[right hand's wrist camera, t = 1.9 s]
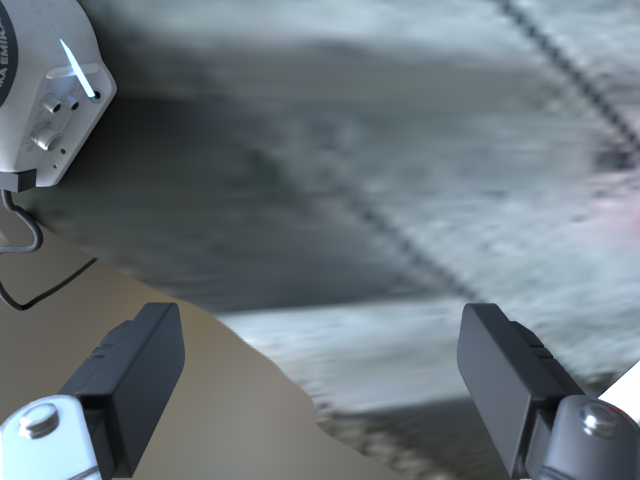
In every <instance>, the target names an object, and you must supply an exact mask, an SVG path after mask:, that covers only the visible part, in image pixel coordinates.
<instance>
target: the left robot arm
mask: <svg viewBox="0 0 640 480" xmlns="http://www.w3.org/2000/svg"><path fill="white" fill-rule="evenodd" d="M97 91H98V92H99V93H100V95H101V97H100V99H99V98H97V96H96V92H97ZM116 91H117V86H116V83H115V80H114V78H113V77H112V75H111V73H110V72H109V70H108V68H107V67H106V65H105V64H104V62H103V61H102V58H101V55H100V52H99V47H98V43H97V39H96V36H95V33H94V30H93V28H92V25H91V23H90V21H89V19H88V17H87V15H86V14H85V12H84V10H83V9H82V7H81V6H80V4H79V3H78V2H77V1H76V0H0V188H1V190H2V197H3V201H4V204H5V206H6V208H7V209H8V210H10V211H12V212H16V213H17V214H18V215H19V216H20V217H21V218H22V219H23V220H24V221H25V222H26V223H27V224H28V225H29V226H30V228H31V229H32V231H33V232H34V235H35V242H34V244H33V245H31V246H26V247H21V246H3V247H0V254H2V253H8V252H15V253H30V252H34V251H36V250H38V249H39V248H40V247H41V245H42V243H43V234H42V231H41V229H40V228H39V226H38V225H37V223H36V222H35V221H34V220H33V219H32V218H31V217H30V216H29V214H28V213H27V212H26V211H25V210H24V209H23V208H22V207H20V206H18V205H14V204H13V202H12V198H11V191H13V192H16V193H19V192H22V191H25V190H27V189H30V188H33V187H35V186H39V187H44V186H53V185H56V184H57V183H58V182H59V181H60V180H61V178H62V177H63V175H64V174H65V172H66V171H67V169H68V168H69V166H70V164H71V163H72V161H73V160H74V158H75V157H76V155H77V153H78V152H79V150H80V149H81V147H82V146H83V144H84V143H85V141H86V139H87V138H88V136H89V135H90V133H91V132H92V130H93V129H94V127H95V125H96V124H97V122H98V121H99V119H100V118H101V116H102V114H103V113H104V111H105V110H106V108H107V107H108V105H109V104H110V102H111V100H112V99H113V97H114V96H115V94H116ZM97 260H98V259H97V258H95V257H94V258H92V259H91V260H90V261H89V262H87V263H86V264H85V265H84V266H82V267H81V268H80V269H79V270H77V271H76V272H75V273H73V274H72V275H71V276H69V277H68V278H67V279H65V280H64V281H62V282H61V283H59V284H58V285H56V286H55V287H53V288H51V289H50V290H48V291H46V292H44V293H42V294H41V295H39V296H37V297H35V298H34V299H32V300H31V301H30V302H28V303H26V304H24V305H20V304H18V303H16V302H15V301H14V300H13V299H12V298H11V297H10V296H9V295H8V293H7V292H6V291H5V289H4V287H3V286H2V284H1V282H0V297H1V298H2V299H3V300H4V301H5V302H6V303H7V304H8V305H9V306H10V307H12V308H13V309H15V310H18V311H25V310H28V309H29V308H31V307H32V306H34V305H35V304H36V303H38V302H39V301H41V300H43V299H45V298H46V297H48V296H50V295H52V294H53V293H55V292H56V291H58V290H59V289H61V288H63V287H64V286H65V285H67V284H68V283H69V282H71V281H72V280H74V279H75V278H76V277H77V276H79V275H80V274H81V273H82V272H84V271H85V270H86V269H87V268H89V267H90V266H91V265H92V264H93V263H95V262H96V261H97Z"/></svg>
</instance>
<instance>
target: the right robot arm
mask: <svg viewBox="0 0 640 480" xmlns="http://www.w3.org/2000/svg"><path fill="white" fill-rule="evenodd" d="M184 361H185V347H184V340H183V334H182V327H181V320H180V313H179V308H178V306H177V304H176V303H147V304H145V305H144V307H143V308H142V309H141V311H140V312H139V313H138V314H137V316H136V317H135V318H134V320H133V321H125V322H124V323H122V324H120V325H119V326H117V327H116V328H114V329H113V330H111V331H110V332H109V333H108V334H107V335H106V336H105V338H104V339H103V340H102V341H101V342H100V344H99V347H96V348H95V349H94V351H93V352H92V353H91V354H90V357H89V358H87V359H86V360H85V361H84V363H83V364H82V365H81V366H80V367H79V369H78V370H77V371H76V372H75V373H74V375H73V376H72V377H71V378H70V379H69V380H68V382H67V383H66V384H65V385H64V386H63V388H62V389H61V390H60V391H59V392H58V394H57V395H54V396H49V397H45V398H42V399H38V400H36V401H34V402H31V403H29V404H27V405H25V406H23V407H22V408H20V409H19V410H17V411H16V412H14V413H13V414H12V415H11V416H10V417H9V418H7V419H6V421H5V422H4V423H3V424H2V425H1V427H0V480H111V479H112V478H132V476H133V474H134V472H135V470H136V468H137V466H138V464H139V461H140V459H141V457H142V455H143V453H144V451H145V449H146V447H147V445H148V442H149V440H150V438H151V436H152V434H153V432H154V430H155V428H156V426H157V424H158V421H159V419H160V417H161V415H162V413H163V411H164V409H165V407H166V405H167V402H168V400H169V398H170V396H171V394H172V392H173V390H174V388H175V386H176V383H177V381H178V379H179V377H180V375H181V373H182V370H183V367H184ZM457 361H458V367H459V371H460V373H461V376H462V378H463V380H464V382H465V384H466V386H467V388H468V390H469V392H470V394H471V396H472V399H473V401H474V403H475V405H476V407H477V409H478V411H479V413H480V415H481V417H482V419H483V421H484V424H485V426H486V428H487V430H488V432H489V434H490V436H491V438H492V440H493V442H494V444H495V446H496V449H497V451H498V453H499V455H500V457H501V459H502V461H503V463H504V465H505V467H506V469H507V471H508V474H509V476H510V478H511V479H531V480H640V427H639V425H638V424H637V423H636V422H635V420H634V419H633V418H632V417H630V416H629V415H628V414H627V413H626V412H624V411H623V410H621V409H620V408H618V407H617V406H615V405H613V404H611V403H609V402H606V401H604V400H602V399H598V398H595V397H591V396H587V395H586V394H585V393H584V392H583V391H582V390H581V388H580V387H579V386H578V385H577V384H576V382H575V381H574V380H573V379H572V378H571V377H570V375H569V374H568V373H567V372H566V371H565V369H564V368H563V367H562V366H561V365H560V364H559V362H558V361H557V360H556V359H553V355H552V354H551V353H550V352H549V351H548V349H547V348H544V345H543V344H542V342H541V341H540V340H539V339H538V338H537V336H536V335H535V334H534V333H533V332H532V331H530V330H529V329H527V328H526V327H524V326H522V325H521V324H519V323H518V322H516V321H509V320H508V318H507V317H506V316H505V314H504V313H503V312H502V311H501V309H500V308H499V307H498V306H497V305H496V304H494V303H467V304H466V305H465V307H464V309H463V315H462V322H461V328H460V335H459V342H458V348H457Z"/></svg>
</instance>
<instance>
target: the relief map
mask: <svg viewBox="0 0 640 480" xmlns="http://www.w3.org/2000/svg"><path fill="white" fill-rule="evenodd" d="M598 399H602V400H604V401H606V402H609V403H611V404H613V405H615V406H617V407H618V408H620V409H621V410H623V411H624V412H626V413H627V414H628V415H629V416H630V417H632V418H633V419H634V420H635V422H636V423H637V424H638V425H639V427H640V361H639V362H638V363H637V364H636V365H635V366H634V367H633V368H632V369H630V370H629V371H628V372H627V373H626V374H625V375H624V376H623V377H622V378H620V379H619V380H618V381H617V382H616V383H615V384H614V385H613V386H611V387H610V388H609V389H608V390H607V391H606V392H605V393H604V394H602V395H601V396H600V397H599V398H598ZM520 480H531V479H520Z"/></svg>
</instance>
